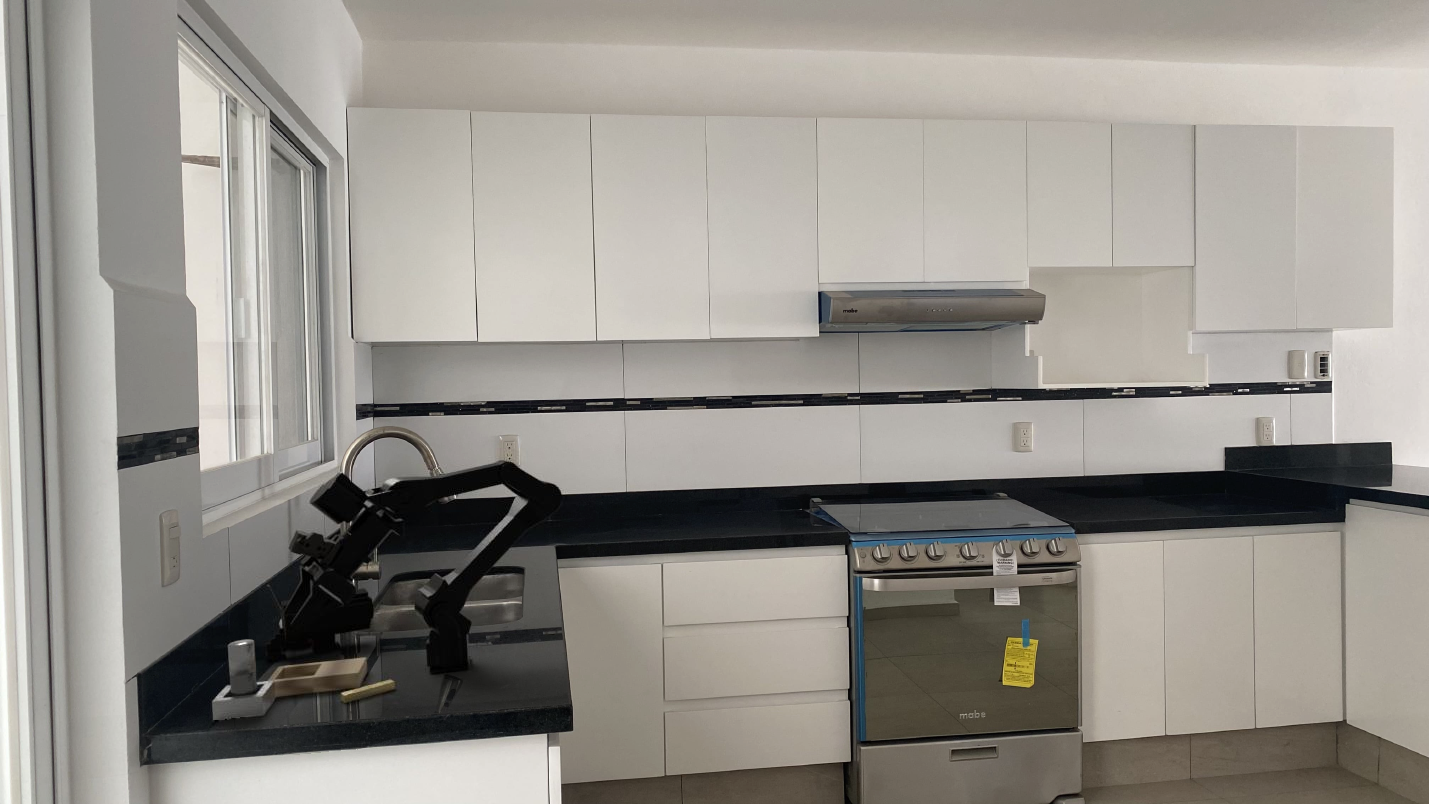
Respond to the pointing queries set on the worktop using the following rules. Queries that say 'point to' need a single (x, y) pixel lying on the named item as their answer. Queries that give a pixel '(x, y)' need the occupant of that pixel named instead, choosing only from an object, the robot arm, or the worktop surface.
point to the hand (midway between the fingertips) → (289, 619)
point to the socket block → (244, 702)
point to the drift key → (367, 691)
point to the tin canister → (242, 668)
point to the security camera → (322, 626)
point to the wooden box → (319, 676)
